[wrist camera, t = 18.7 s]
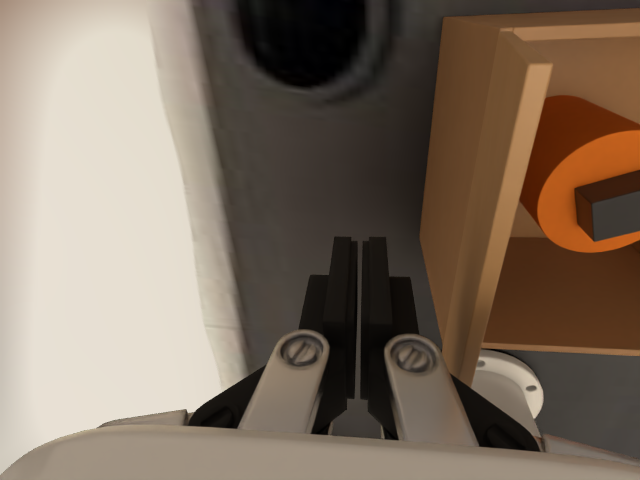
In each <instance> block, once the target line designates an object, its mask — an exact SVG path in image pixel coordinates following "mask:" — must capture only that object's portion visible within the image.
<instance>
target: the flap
mask: <svg viewBox="0 0 640 480" xmlns="http://www.w3.org/2000/svg"><path fill="white" fill-rule="evenodd" d="M552 69H553V63H551V62H550V61H549V60H547V59H546V58H545V57H544V56H542V55H541V54H540V53H539V52H537V51H536V50H535V49H533V48H532V47H531V46H530V45H528V44H527V43H526V42H524V41H523V40H522V39H521V38H519V37H518V36H517V35H516V34H514V33H513V32H512V31H500V32H499V35H498V41H497V46H496V52H495V58H494V63H493V69H492V74H491V80H490V85H489V91H488V97H487V102H486V108H485V113H484V119H483V125H482V130H481V136H480V141H479V147H478V152H477V158H476V164H475V169H474V175H473V180H472V186H471V192H470V197H469V203H468V208H467V214H466V219H465V225H464V231H463V236H462V242H461V247H460V253H459V259H458V264H457V270H456V275H455V281H454V286H453V292H452V298H451V303H450V309H449V314H448V320H447V326H446V331H445V337H444V342H443V348H442V355H443V358H444V360H445V363H446V365H447V368H448V370H449V373H451V374H452V375H453V376H455V377H456V378H458V379H459V380H460V381H462V382H463V383H465V384H466V385H467V386H469V387H470V388H471V386H472V382H473V378H474V375H475V371H476V367H477V363H478V359H479V355H480V351H481V347H482V343H483V339H484V335H485V331H486V328H487V324H488V320H489V316H490V312H491V308H492V304H493V300H494V296H495V292H496V288H497V284H498V281H499V277H500V273H501V269H502V265H503V261H504V257H505V253H506V249H507V245H508V241H509V237H510V234H511V230H512V226H513V222H514V218H515V214H516V210H517V206H518V202H519V198H520V194H521V190H522V187H523V183H524V179H525V175H526V171H527V167H528V163H529V159H530V155H531V151H532V147H533V143H534V140H535V136H536V132H537V128H538V124H539V120H540V116H541V112H542V108H543V104H544V100H545V96H546V93H547V89H548V85H549V81H550V77H551V73H552Z"/></svg>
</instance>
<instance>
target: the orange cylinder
mask: <svg viewBox="0 0 640 480" xmlns="http://www.w3.org/2000/svg"><path fill="white" fill-rule="evenodd" d="M519 201H520V202H521V204H522V205H523V206H524V208H525V209H526V210H527V212H528V213H529V214H530V215H531V217H532V218H533V219H534V221H535V222H536V223H537V225H538V226H539V227H540V229H541V230H542V231H543V233H544V234H545V235H546V236H547V237H548V238H549V239H550V240H551V241H552V242H554V243H555V244H557V245H559V246H561V247H563V248H566V249H568V250H572V251H577V252H585V253H595V252H604V251H609V250H614V249H617V248H621V247H624V246H626V245H629V244H632V243H634V242H636V241H638V240H640V124H638V123H636V122H634V121H632V120H629V119H627V118H625V117H623V116H620V115H618V114H616V113H614V112H612V111H609V110H607V109H605V108H603V107H600V106H598V105H596V104H594V103H591V102H589V101H587V100H585V99H582V98H580V97H576V96H570V95H557V96H551V97H547V98H545V100H544V104H543V108H542V112H541V116H540V120H539V124H538V128H537V132H536V136H535V140H534V143H533V147H532V151H531V155H530V159H529V163H528V167H527V171H526V175H525V179H524V183H523V187H522V190H521V194H520V198H519Z"/></svg>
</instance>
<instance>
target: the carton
mask: <svg viewBox="0 0 640 480" xmlns="http://www.w3.org/2000/svg"><path fill="white" fill-rule="evenodd" d="M500 31H512V32H513V33H514V34H516V35H517V36H518V37H519V38H521V39H522V40H523V41H524V42H526V43H527V44H528V45H530V46H531V47H532V48H533V49H535V50H536V51H537V52H539V53H540V54H541V55H542V56H544V57H545V58H546V59H547V60H549V61H550V62H551V63H553V69H552V73H551V77H550V81H549V85H548V89H547V93H546V96H545V98H547V97H551V96H557V95H570V96H576V97H580V98H582V99H585V100H587V101H589V102H591V103H594V104H596V105H598V106H600V107H603V108H605V109H607V110H609V111H612V112H614V113H616V114H618V115H620V116H623V117H625V118H627V119H629V120H632V121H634V122H636V123H638V124H640V8H628V9H606V10H584V11H563V12H541V13H519V14H497V15H475V16H453V17H443V25H442V34H441V43H440V52H439V61H438V70H437V80H436V89H435V98H434V107H433V116H432V125H431V134H430V143H429V153H428V162H427V171H426V180H425V189H424V198H423V207H422V217H421V226H420V235H419V238H420V243H421V247H422V252H423V257H424V261H425V266H426V270H427V275H428V279H429V284H430V289H431V293H432V298H433V302H434V307H435V312H436V316H437V321H438V325H439V330H440V335H441V339H442V344H443V342H444V337H445V331H446V326H447V320H448V314H449V309H450V303H451V298H452V292H453V286H454V281H455V275H456V270H457V264H458V259H459V253H460V247H461V242H462V236H463V231H464V225H465V219H466V214H467V208H468V203H469V197H470V192H471V186H472V180H473V175H474V169H475V164H476V158H477V152H478V147H479V141H480V136H481V130H482V125H483V119H484V113H485V108H486V102H487V97H488V91H489V85H490V80H491V74H492V69H493V63H494V58H495V52H496V46H497V41H498V35H499V32H500ZM481 348H489V349H509V350H529V351H549V352H569V353H590V354H610V355H630V356H640V240H638V241H636V242H634V243H632V244H629V245H626V246H624V247H621V248H617V249H614V250H609V251H604V252H595V253H585V252H577V251H572V250H568V249H566V248H563V247H561V246H559V245H557V244H555V243H554V242H552V241H551V240H550V239H549V238H548V237H547V236H546V235H545V234H544V233H543V231H542V230H541V229H540V227H539V226H538V225H537V223H536V222H535V221H534V219H533V218H532V217H531V215H530V214H529V213H528V212H527V210H526V209H525V208H524V206H523V205H522V204H521V202H520V201H519V202H518V206H517V210H516V214H515V218H514V222H513V226H512V230H511V234H510V237H509V241H508V245H507V249H506V253H505V257H504V261H503V265H502V269H501V273H500V277H499V281H498V284H497V288H496V292H495V296H494V300H493V304H492V308H491V312H490V316H489V320H488V324H487V328H486V331H485V335H484V339H483V343H482V347H481Z"/></svg>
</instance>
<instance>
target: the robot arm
mask: <svg viewBox="0 0 640 480" xmlns="http://www.w3.org/2000/svg"><path fill="white" fill-rule="evenodd" d="M356 337H357V241H351V237H335V238H334V244H333V251H332V258H331V265H330V272H329V275H310V278H309V282H308V287H307V291H306V296H305V301H304V305H303V310H302V315H301V320H300V324H299V329H298V330H295V331H292V332H290V333H288V334H286V335H284V336H283V337H282V338H281V339H280V340H279V341H278V343H277V344H276V346H275V348H274V350H273V353H272V355H271V357H270V359H269V361H268V363H267V365H265V366H264V367H262V368H260V369H259V370H257V371H256V372H254V373H252V374H251V375H249V376H248V377H246V378H244V379H243V380H241V381H240V382H238V383H236V384H235V385H233V386H232V387H230V388H228V389H227V390H225V391H224V392H222V393H220V394H219V395H217V396H216V397H214V398H213V399H211V400H209V401H208V402H206V403H205V404H203V405H202V406H201V407H200V408H198V409H197V410H196V411H195V412H192V413H187V410H186V409H184V410H178V411H171V412H165V413H158V414H151V415H144V416H138V417H132V418H125V419H118V420H113V421H110V422H107V423H104V424H102V425H101V426H99V427H97V428H96V429H90V430H85V431H81V432H78V433H74V434H71V435H67V436H64V437H61V438H58V439H55V440H53V441H51V442H48V443H46V444H44V445H41V446H39V447H37V448H35V449H33V450H32V451H30V452H28V453H27V454H25V455H23V456H22V457H21V458H20V459H18V460H17V461H16V462H14V463H13V464H12V465H11V466H10V467H9V468H8V469H6V470H5V471H4V472H3V473H2V474H1V475H0V480H640V460H639V459H637V458H634V457H630V456H626V455H622V454H619V453H615V452H611V451H608V450H604V449H600V448H596V447H593V446H589V445H585V444H581V443H578V442H574V441H570V440H566V439H563V438H559V437H555V436H551V435H548V434H543V436H542V438H541V436H540V433H539V431H538V428H537V426H536V423H535V421H534V419H535V418H536V417H537V415H538V413H539V412H540V410H541V408H542V404H543V400H544V399H543V390H542V388H541V385H540V383H539V380H538V378H537V377H536V375H535V373H534V372H533V371H532V370H531V369H530V368H529V367H528V366H527V365H526V364H525V363H523V362H522V361H520V360H518V359H517V358H515V357H512V356H510V355H507V354H504V353H501V352H496V351H492V350H484V349H481V351H480V355H479V359H478V363H477V367H476V371H475V375H474V378H473V382H472V386H471V388H470V387H469V386H467V385H466V384H465V383H463V382H462V381H460V380H459V379H458V378H456V377H455V376H453V375H452V374H451V373H449V370H448V368H447V365H446V363H445V360H444V358H443V355H442V353H441V351H440V349H439V348H438V346H437V345H436V344H435V343H434V342H432V341H431V340H430V339H428V338H426V337H424V336H421V335H419V330H418V323H417V317H416V310H415V304H414V297H413V291H412V284H411V279H410V277H389V271H388V258H387V244H386V237H369V241H363V250H362V296H361V382H360V399H364V400H368V412H369V413H370V414H371V415H372V416H373V417H374V418H375V419H376V420H377V421H378V422H379V423H380V432H381V437H382V439H371V438H358V437H344V436H331V434H332V430H333V420H334V419H335V418H336V417H337V416H339V415H340V414H341V413H342V412H344V411H345V410H347V398H348V399H354V396H355V367H356Z"/></svg>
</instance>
